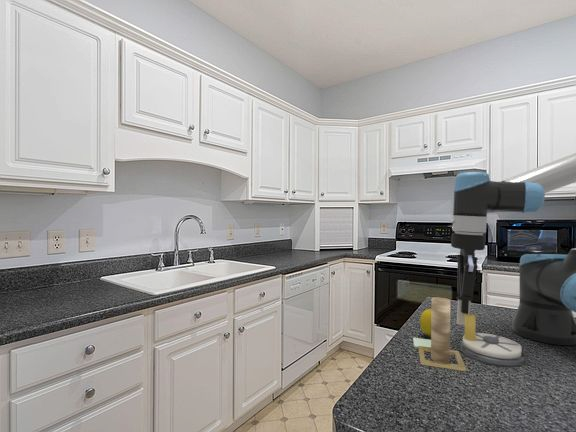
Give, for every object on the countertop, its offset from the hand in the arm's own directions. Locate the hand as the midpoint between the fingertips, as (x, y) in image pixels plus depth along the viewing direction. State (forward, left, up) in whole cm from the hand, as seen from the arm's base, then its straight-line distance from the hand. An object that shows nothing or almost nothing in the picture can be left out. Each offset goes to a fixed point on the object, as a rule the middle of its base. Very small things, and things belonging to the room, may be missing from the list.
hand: (462, 324), depth 82 cm
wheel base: (-6, +3, -6) cm, 9 cm away
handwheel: (-6, +3, -4) cm, 8 cm away
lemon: (+7, -4, -6) cm, 10 cm away
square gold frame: (+6, +10, -6) cm, 13 cm away
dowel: (+6, +10, -6) cm, 13 cm away
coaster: (+9, +2, -6) cm, 11 cm away
